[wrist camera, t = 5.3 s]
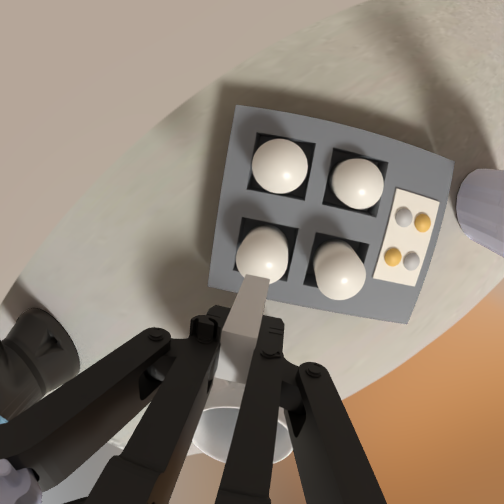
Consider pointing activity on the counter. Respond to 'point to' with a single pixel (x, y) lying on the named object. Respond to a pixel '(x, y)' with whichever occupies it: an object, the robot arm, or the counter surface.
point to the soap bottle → (483, 208)
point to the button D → (356, 183)
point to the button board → (333, 213)
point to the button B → (279, 166)
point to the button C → (338, 270)
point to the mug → (231, 422)
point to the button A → (263, 253)
